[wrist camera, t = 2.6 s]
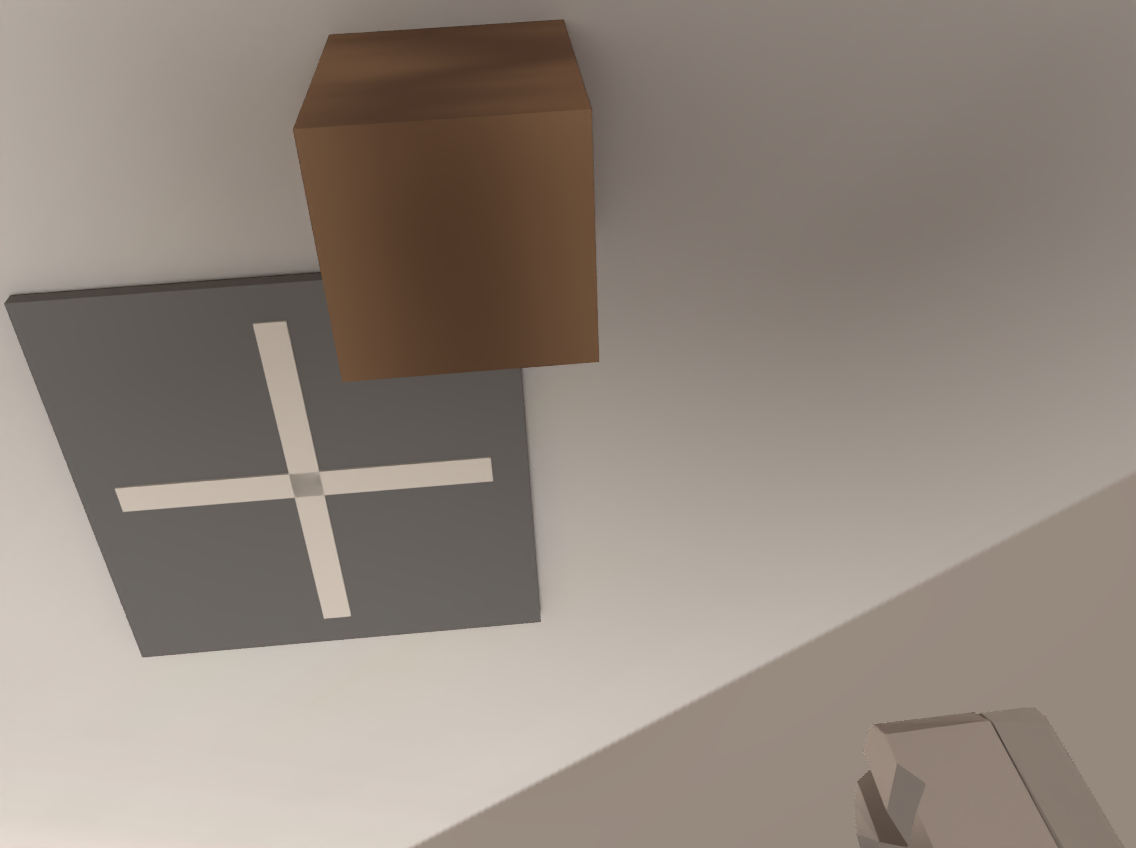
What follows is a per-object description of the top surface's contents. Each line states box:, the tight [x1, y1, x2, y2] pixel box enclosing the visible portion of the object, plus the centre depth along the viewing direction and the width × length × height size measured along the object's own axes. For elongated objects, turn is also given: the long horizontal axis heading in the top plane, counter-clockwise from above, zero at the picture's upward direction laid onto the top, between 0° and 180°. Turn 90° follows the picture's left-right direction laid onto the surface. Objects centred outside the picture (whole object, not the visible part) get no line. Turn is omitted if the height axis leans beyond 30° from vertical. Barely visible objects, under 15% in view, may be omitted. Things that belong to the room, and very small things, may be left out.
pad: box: [4, 273, 541, 657], centre depth 29 cm, size 12×12×1 cm
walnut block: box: [293, 20, 599, 382], centre depth 22 cm, size 5×5×6 cm
